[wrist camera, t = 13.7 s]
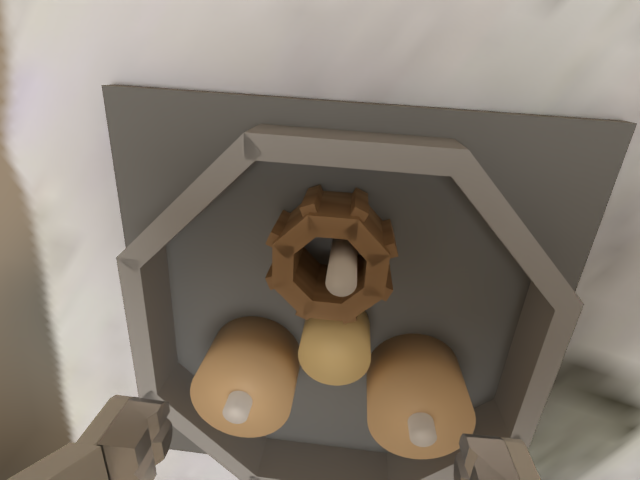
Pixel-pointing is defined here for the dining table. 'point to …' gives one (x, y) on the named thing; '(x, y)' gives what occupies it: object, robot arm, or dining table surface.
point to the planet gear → (309, 275)
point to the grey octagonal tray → (352, 274)
